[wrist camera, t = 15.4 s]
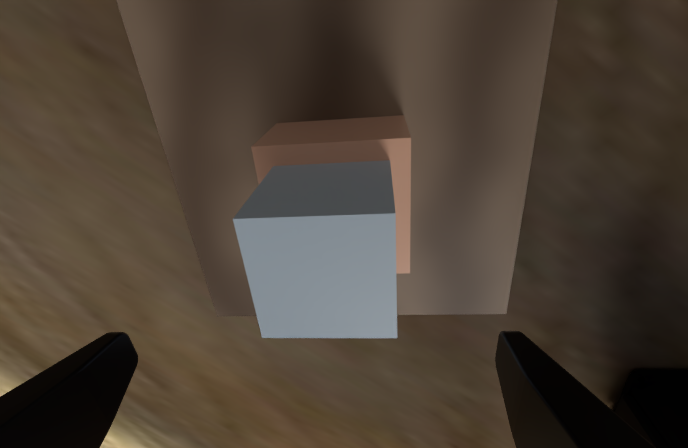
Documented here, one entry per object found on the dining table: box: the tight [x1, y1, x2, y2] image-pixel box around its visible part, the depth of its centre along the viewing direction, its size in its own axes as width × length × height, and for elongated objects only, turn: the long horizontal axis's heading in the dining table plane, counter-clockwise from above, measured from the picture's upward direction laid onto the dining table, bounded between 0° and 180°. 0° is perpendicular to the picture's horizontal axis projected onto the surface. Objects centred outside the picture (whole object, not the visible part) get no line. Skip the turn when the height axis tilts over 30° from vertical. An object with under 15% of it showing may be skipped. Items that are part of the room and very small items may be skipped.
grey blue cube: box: [233, 160, 397, 338], centre depth 13 cm, size 4×4×4 cm
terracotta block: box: [251, 115, 411, 274], centre depth 17 cm, size 6×6×4 cm
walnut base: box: [116, 0, 558, 316], centre depth 19 cm, size 18×18×2 cm
